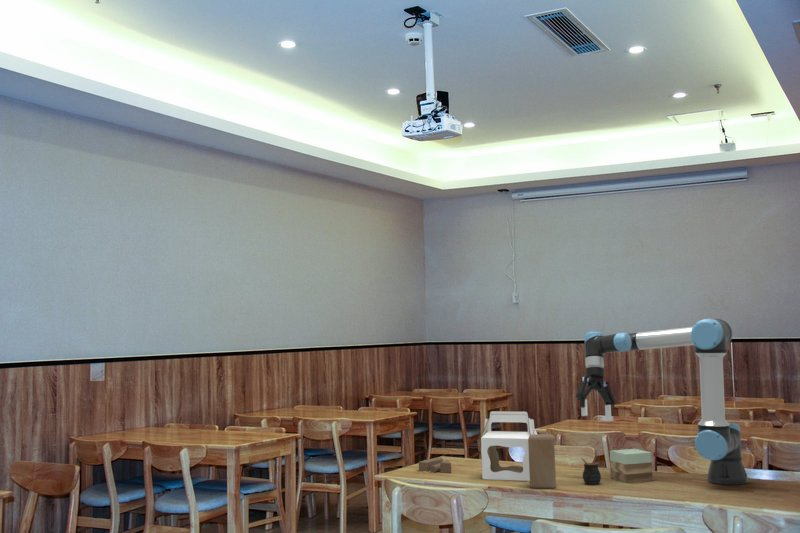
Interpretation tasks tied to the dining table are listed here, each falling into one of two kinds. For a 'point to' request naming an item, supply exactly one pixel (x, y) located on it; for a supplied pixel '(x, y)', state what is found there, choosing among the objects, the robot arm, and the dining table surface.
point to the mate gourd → (591, 473)
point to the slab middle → (631, 467)
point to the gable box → (505, 439)
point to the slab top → (630, 456)
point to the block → (542, 461)
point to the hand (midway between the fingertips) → (596, 418)
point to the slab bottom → (631, 477)
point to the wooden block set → (435, 465)
